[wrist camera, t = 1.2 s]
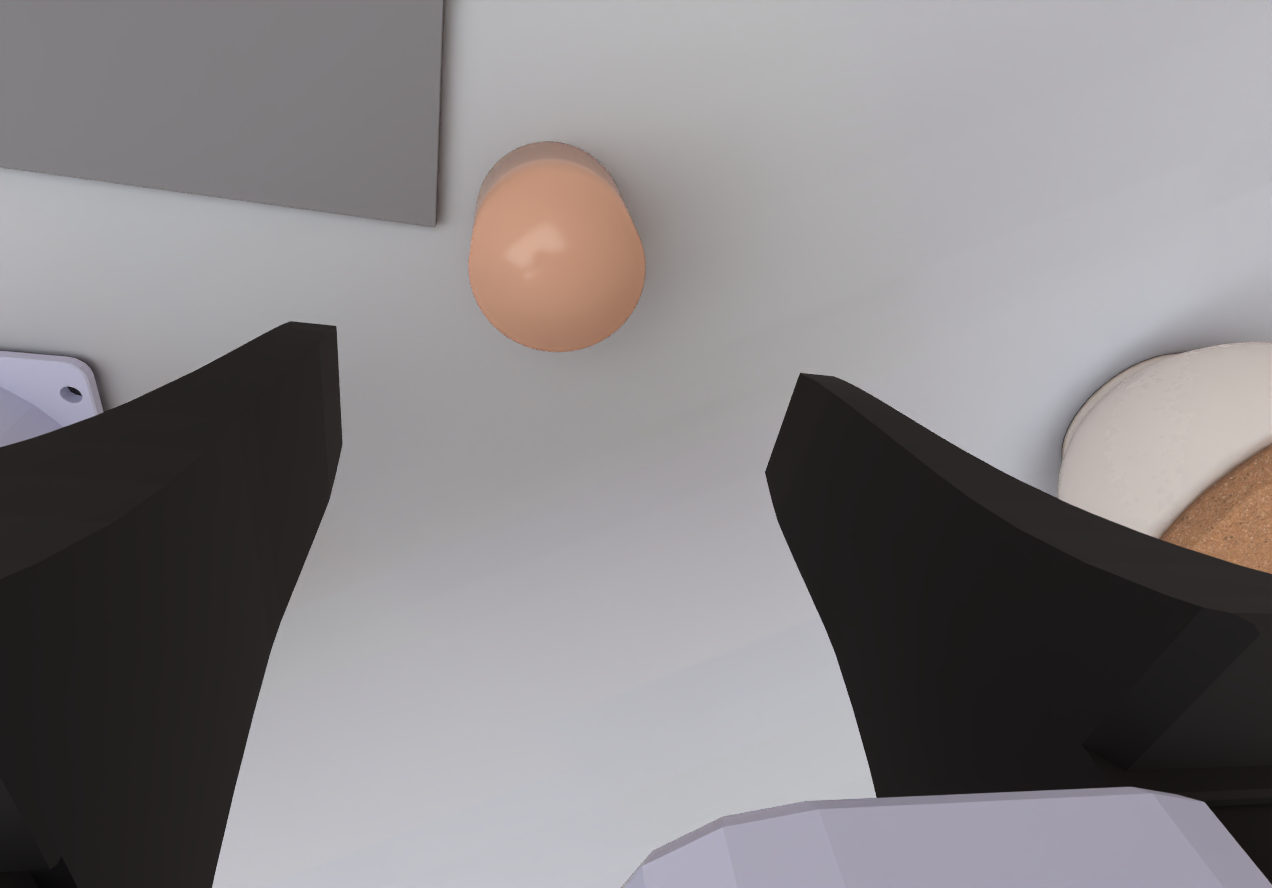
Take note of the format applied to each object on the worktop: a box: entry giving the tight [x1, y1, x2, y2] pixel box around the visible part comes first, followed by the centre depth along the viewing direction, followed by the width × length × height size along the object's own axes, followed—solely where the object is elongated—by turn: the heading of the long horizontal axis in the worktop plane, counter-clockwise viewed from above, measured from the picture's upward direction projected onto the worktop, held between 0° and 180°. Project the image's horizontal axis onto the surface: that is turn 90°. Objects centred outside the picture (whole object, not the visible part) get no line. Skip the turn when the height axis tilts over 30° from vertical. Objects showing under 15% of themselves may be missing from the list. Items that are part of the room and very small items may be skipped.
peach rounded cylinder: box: [469, 142, 645, 352], centre depth 18 cm, size 4×4×4 cm
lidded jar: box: [1058, 342, 1272, 574], centre depth 23 cm, size 11×11×9 cm
